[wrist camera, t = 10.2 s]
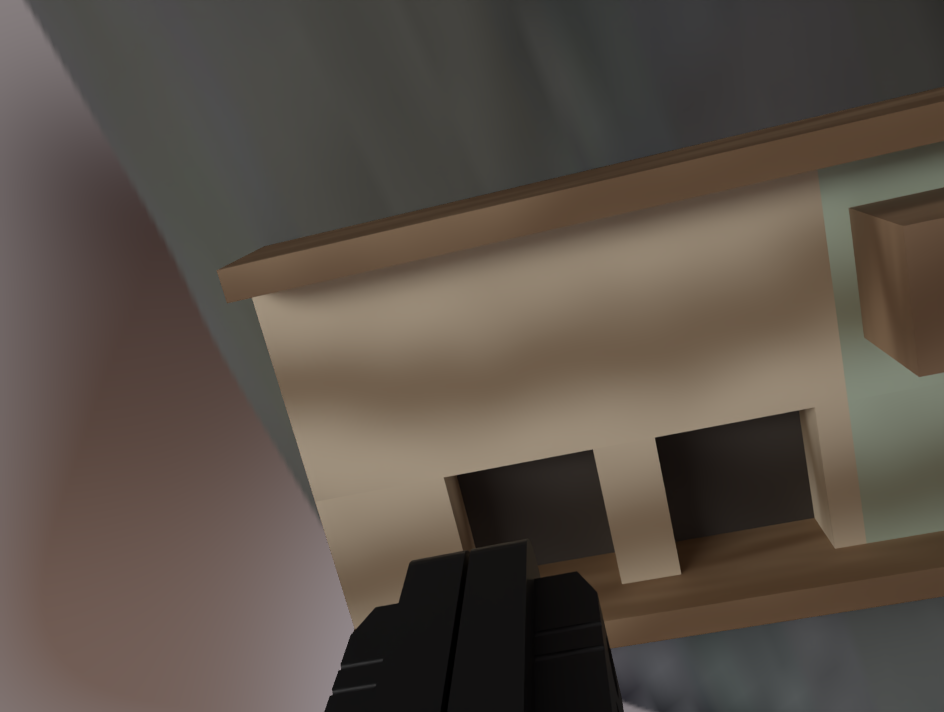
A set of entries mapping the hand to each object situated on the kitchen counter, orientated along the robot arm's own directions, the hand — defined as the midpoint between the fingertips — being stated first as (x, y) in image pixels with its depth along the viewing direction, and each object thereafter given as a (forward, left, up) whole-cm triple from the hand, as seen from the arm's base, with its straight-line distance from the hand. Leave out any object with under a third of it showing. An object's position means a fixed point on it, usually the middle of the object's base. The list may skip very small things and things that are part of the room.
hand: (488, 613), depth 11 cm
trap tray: (+4, +4, -19) cm, 20 cm away
